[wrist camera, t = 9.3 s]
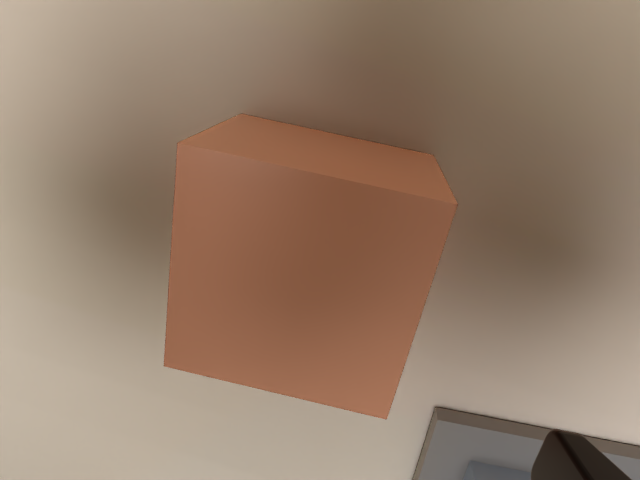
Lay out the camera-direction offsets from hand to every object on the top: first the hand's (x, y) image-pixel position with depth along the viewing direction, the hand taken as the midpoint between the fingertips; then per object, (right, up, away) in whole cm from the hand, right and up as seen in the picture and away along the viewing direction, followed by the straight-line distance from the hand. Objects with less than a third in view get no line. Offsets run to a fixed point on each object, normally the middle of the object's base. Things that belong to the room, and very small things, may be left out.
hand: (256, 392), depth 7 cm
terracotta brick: (+1, +3, +7) cm, 7 cm away
